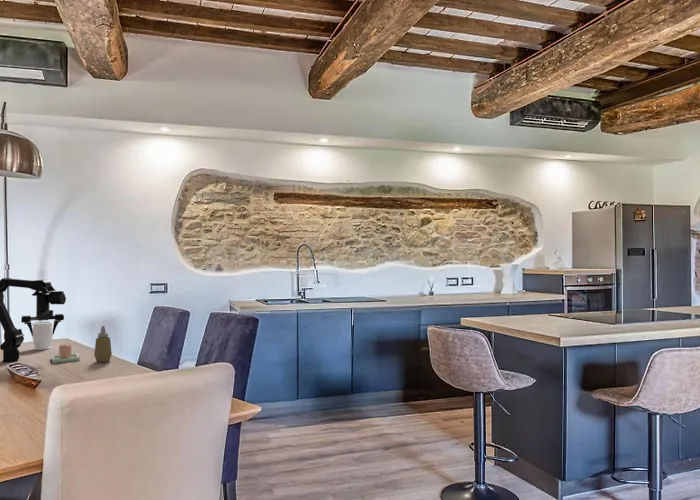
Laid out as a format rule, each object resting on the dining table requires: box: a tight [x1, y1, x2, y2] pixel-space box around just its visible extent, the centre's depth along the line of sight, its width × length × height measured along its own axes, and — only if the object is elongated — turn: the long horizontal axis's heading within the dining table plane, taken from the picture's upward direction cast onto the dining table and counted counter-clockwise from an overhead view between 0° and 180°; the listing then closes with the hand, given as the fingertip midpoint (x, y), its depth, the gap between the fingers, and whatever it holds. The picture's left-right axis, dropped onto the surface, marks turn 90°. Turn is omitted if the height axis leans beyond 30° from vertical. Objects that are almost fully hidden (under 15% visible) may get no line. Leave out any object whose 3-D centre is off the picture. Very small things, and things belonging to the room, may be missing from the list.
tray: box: [51, 353, 81, 364], centre depth 275 cm, size 12×12×2 cm
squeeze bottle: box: [94, 325, 113, 364], centre depth 272 cm, size 8×8×18 cm
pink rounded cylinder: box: [58, 343, 73, 359], centre depth 275 cm, size 6×6×7 cm
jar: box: [31, 321, 54, 351], centre depth 307 cm, size 11×10×15 cm
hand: (42, 335), depth 274 cm, fingers open, 9 cm apart
